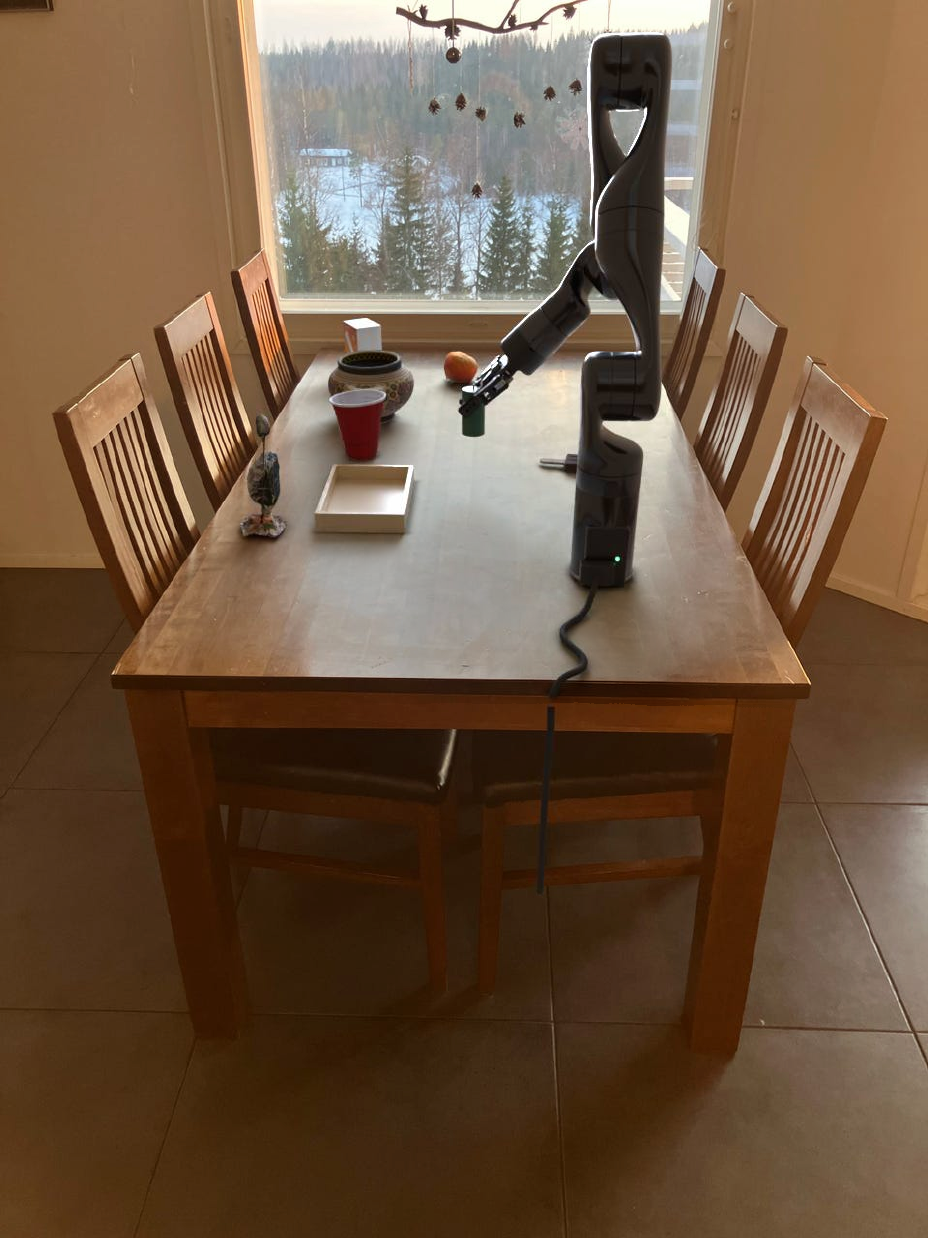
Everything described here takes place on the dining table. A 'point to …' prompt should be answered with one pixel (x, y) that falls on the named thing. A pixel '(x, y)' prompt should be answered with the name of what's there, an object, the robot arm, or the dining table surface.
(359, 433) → the plastic cup
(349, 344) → the small box
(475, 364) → the fruit
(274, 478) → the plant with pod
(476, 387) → the green candle
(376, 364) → the ceramic bowl
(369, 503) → the wooden tray
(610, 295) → the robot arm
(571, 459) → the ice cream bar
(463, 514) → the dining table surface
